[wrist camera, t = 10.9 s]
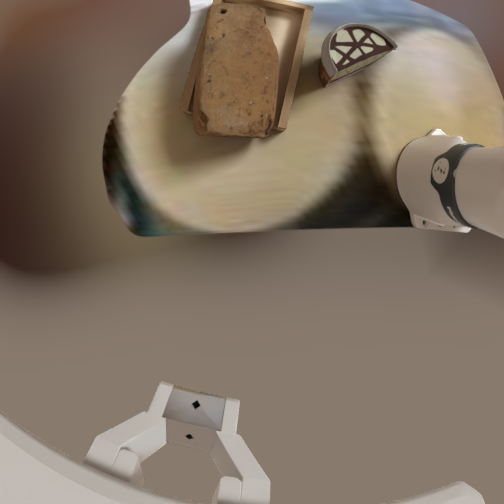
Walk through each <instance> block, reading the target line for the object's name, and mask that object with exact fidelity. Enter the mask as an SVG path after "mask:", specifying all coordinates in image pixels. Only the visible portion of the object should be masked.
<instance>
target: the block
mask: <svg viewBox="0 0 504 504" xmlns="http://www.w3.org/2000/svg"><path fill="white" fill-rule="evenodd" d="M278 79H279V55H278V50H277V47H276V45H275V44H274V41H273V38H272V35H271V33H270V31H269V29H268V28H267V27H266V13H265V11H264V9H261V8H259V7H255V6H252V5H248V4H232V3H217V4H213V5H212V6H211V7H210V8H209V10H208V13H207V16H206V21H205V26H204V32H203V38H202V44H201V50H200V56H199V62H198V69H197V75H196V83H195V94H194V103H193V119H194V128H195V132H196V133H197V134H198V135H202V136H228V137H252V138H266V137H268V136H269V134H270V131H271V129H272V126H273V123H274V118H275V112H276V104H277V93H278Z"/></svg>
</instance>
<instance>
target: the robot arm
mask: <svg viewBox="0 0 504 504" xmlns="http://www.w3.org/2000/svg"><path fill="white" fill-rule="evenodd" d="M397 186H398V190H399V193H400V196H401V198H402V200H403V202H404V204H405V205H406V207H407V208H408V210H409V212H410V217H411V222H412V225H413V226H414V227H415V228H418V229H429V230H441V231H453V232H469V231H470V230H471V228H476V229H477V228H480V229H483V230H485V231H488V232H490V233H492V234H495V235H497V236H500V237H502V238H504V147H484V146H482V145H478V144H474V143H467V142H465V141H464V140H463V139H462V137H459V136H448V135H446V134H445V133H444V132H443V131H441V130H440V129H433V130H432V131H431V132H430V133H429V134H428V135H427V136H425V137H422V138H418V139H415V140H413V141H412V142H410V143H409V144H408V145H407V146H406V147H405V149H404V150H403V152H402V154H401V156H400V158H399V161H398V166H397ZM423 221H424V223H423ZM239 404H240V401H239V400H237V399H231V398H226V397H223V396H218V395H213V394H208V393H204V392H197V391H194V390H190V389H186V388H183V387H180V386H176V385H173V384H169V383H166V382H163V381H161V382H160V384H159V386H158V388H157V391H156V393H155V395H154V397H153V400H152V402H151V405H150V407H149V409H148V412H141V413H139V414H138V415H136V416H134V417H132V418H130V419H129V420H127V421H125V422H123V423H121V424H120V425H118V426H116V427H114V428H112V429H110V430H108V431H106V432H104V433H102V434H100V435H99V436H97V437H96V438H95V440H94V442H93V444H92V446H91V448H90V450H89V452H88V454H87V456H86V458H85V460H84V462H83V463H82V462H80V461H78V460H76V459H74V458H72V457H70V456H68V455H67V454H65V453H63V452H61V451H59V450H58V449H56V448H54V447H53V446H51V445H49V444H48V443H46V442H45V441H43V440H41V439H40V438H38V437H37V436H35V435H34V434H32V433H31V432H29V431H28V430H26V429H25V428H23V427H22V426H21V425H19V424H18V423H16V422H15V421H14V420H12V419H11V418H10V417H8V416H7V415H6V414H5V413H3V412H2V411H1V410H0V504H203V503H199V502H194V501H189V500H185V499H181V498H176V497H173V496H169V495H165V494H162V493H158V492H155V491H152V490H149V489H146V488H142V486H143V482H144V478H143V474H142V470H141V466H140V463H141V462H142V461H143V460H145V459H146V458H148V457H149V456H150V455H152V454H153V453H154V452H156V451H157V450H158V449H159V448H161V447H162V446H164V445H165V444H166V442H168V443H172V444H176V445H180V446H185V447H188V448H192V449H196V450H201V451H205V452H209V453H210V455H211V457H212V459H213V461H214V463H215V465H216V467H217V469H218V472H219V474H220V476H221V480H220V482H219V484H218V487H217V489H216V491H215V493H214V496H213V499H212V504H270V480H269V478H268V477H267V476H266V474H265V473H264V471H263V470H262V468H261V467H260V465H259V464H258V462H257V461H256V459H255V458H254V456H253V455H252V453H251V452H250V450H249V449H248V447H247V446H246V444H245V442H244V441H243V439H242V438H241V436H240V435H237V434H236V430H237V422H238V413H239ZM381 504H485V502H484V500H483V497H482V496H481V494H480V493H478V492H477V491H476V490H475V489H473V488H472V487H470V486H469V485H467V484H466V483H464V482H462V481H458V482H454V483H451V484H449V485H446V486H443V487H440V488H437V489H434V490H431V491H428V492H425V493H422V494H418V495H415V496H411V497H407V498H403V499H399V500H395V501H391V502H386V503H381Z"/></svg>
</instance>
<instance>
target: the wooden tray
mask: <svg viewBox="0 0 504 504" xmlns="http://www.w3.org/2000/svg"><path fill="white" fill-rule="evenodd" d="M217 3H232V4H248V5H252V6H255V7H259V8H261V9H264V11H265V13H266V27H267V28H268V29H269V31H270V33H271V35H272V38H273V41H274V44H275V45H276V47H277V50H278V55H279V79H278V93H277V104H276V112H275V118H274V123H273V126H272V129H276V130H280V131H285V129H286V128H287V124H288V119H289V115H290V110H291V106H292V102H293V97H294V93H295V88H296V84H297V79H298V75H299V71H300V66H301V62H302V57H303V53H304V48H305V44H306V39H307V35H308V30H309V26H310V21H311V16H312V12H313V7H312V6H309V5H305V4H301V3H296V2H292V1H287V0H213V3H212V5H213V4H217ZM204 26H205V25H204ZM203 32H204V28H203V31H202V34H201V37H200V40H199V43H198V46H197V49H196V52H195V55H194V59H193V62H192V65H191V69H190V72H189V76H188V79H187V83H186V87H185V91H184V94H183V98H182V102H181V106H180V110H181V111H183V112H184V113H186V114H193V103H194V94H195V83H196V75H197V69H198V62H199V56H200V50H201V44H202V38H203Z"/></svg>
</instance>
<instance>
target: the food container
mask: <svg viewBox="0 0 504 504" xmlns="http://www.w3.org/2000/svg"><path fill="white" fill-rule="evenodd" d="M397 47H398V45H397V44H396V43H395V41H394V40H393V39H392V38H391V37H389V36H388V35H387V34H386V33H384V32H383V31H381V30H379V29H377V28H375V27H373V26H370V25H367V24H361V23H352V24H346V25H342V26H340V27H338V28H336V29H335V30H333V31H332V32H330V33H329V34H328V35H327V37H326V38H325V40H324V42H323V45H322V52H321V54H322V59H321V62H320V65H319V76H320V80H321V82H322V84H323V86H324V87H327V86H329V85H331V84H333V83H335V82H337V81H339V80H341V79H343V78H345V77H348V76H350V75H352V74H354V73H356V72H358V71H361V70H363V69H365V68H367V67H369V66H370V65H372V64H373V63H375V62H376V61H378V60H379V59H380V58H382V57H383V56H385V55H386V54H388V53H389V52H391V51H392V50H395V49H396V48H397Z"/></svg>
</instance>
